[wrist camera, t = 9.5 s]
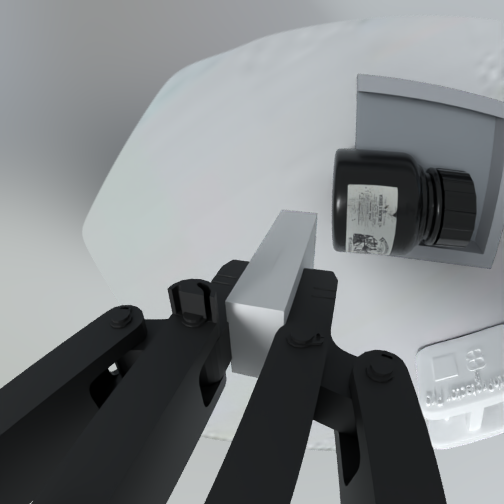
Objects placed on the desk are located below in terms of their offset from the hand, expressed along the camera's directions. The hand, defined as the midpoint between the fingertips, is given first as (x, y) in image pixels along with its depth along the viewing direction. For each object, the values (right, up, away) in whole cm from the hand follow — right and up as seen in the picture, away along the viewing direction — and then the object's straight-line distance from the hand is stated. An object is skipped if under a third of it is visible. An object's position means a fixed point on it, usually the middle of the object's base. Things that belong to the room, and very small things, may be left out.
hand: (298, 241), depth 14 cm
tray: (+16, +8, +13) cm, 22 cm away
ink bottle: (+5, +4, +13) cm, 15 cm away
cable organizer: (+28, -15, +22) cm, 38 cm away
